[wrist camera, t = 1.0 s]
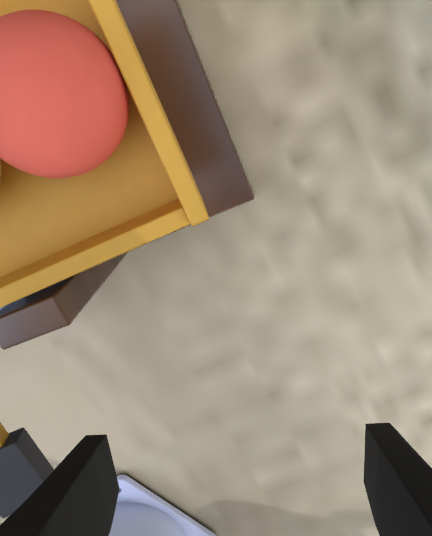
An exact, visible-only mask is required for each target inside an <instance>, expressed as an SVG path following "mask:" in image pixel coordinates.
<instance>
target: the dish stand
mask: <svg viewBox="0 0 432 536" xmlns="http://www.w3.org/2000/svg"><path fill="white" fill-rule="evenodd" d="M116 2H117V4H118V6H119V9H120V11H121V13H122V15H123V18H124V20H125V22H126V25H127V27H128V29H129V31H130V34H131V36H132V38H133V41H134V43H135V45H136V47H137V50H138V52H139V54H140V56H141V59H142V61H143V63H144V66H145V68H146V70H147V72H148V75H149V77H150V79H151V82H152V84H153V86H154V88H155V91H156V93H157V95H158V98H159V100H160V102H161V104H162V107H163V109H164V111H165V114H166V116H167V118H168V120H169V123H170V125H171V127H172V130H173V132H174V134H175V136H176V139H177V141H178V143H179V146H180V148H181V150H182V152H183V155H184V157H185V159H186V162H187V164H188V166H189V168H190V171H191V173H192V175H193V178H194V180H195V182H196V185H197V188H198V190H199V192H200V194H201V197H202V199H203V201H204V204H205V207H206V210H207V213H208V216H209V217H211V216H214V215H216V214H218V213H221V212H223V211H226V210H228V209H231V208H233V207H236V206H238V205H241V204H243V203H245V202H248V201H250V200H253V199H254V194H253V192H252V189H251V187H250V184H249V182H248V179H247V177H246V174H245V172H244V169H243V167H242V164H241V161H240V159H239V156H238V154H237V151H236V149H235V146H234V144H233V141H232V139H231V136H230V134H229V131H228V129H227V126H226V123H225V121H224V118H223V116H222V113H221V111H220V108H219V106H218V103H217V101H216V98H215V96H214V93H213V91H212V88H211V86H210V83H209V80H208V78H207V75H206V73H205V70H204V68H203V65H202V63H201V60H200V58H199V55H198V53H197V50H196V48H195V45H194V43H193V40H192V37H191V35H190V32H189V30H188V27H187V25H186V22H185V20H184V17H183V15H182V12H181V10H180V7H179V5H178V2H177V0H116ZM189 225H190V224H189ZM189 225H187V226H189ZM187 226H185V227H187ZM182 228H184V227H182ZM182 228H180V229H182ZM178 230H179V229H178ZM176 231H177V230H176ZM173 232H174V231H173ZM171 233H172V232H171ZM164 236H165V235H164ZM127 253H128V252H126V253H124V254H121V255H119V256H117V257H114V258H112V259H110V260H108V261H105V262H103V263H101V264H99V265H96V266H94V267H92V268H90V269H87V270H85V271H83V272H80V273H78V274H76V275H74V276H71V277H69V278H67V279H65V280H62V281H60V282H58V283H56V284H53V285H51V286H49V287H47V288H44V289H42V290H40V291H37V292H35V293H33V294H31V295H28V296H26V297H24V298H22V299H19V300H17V301H15V302H13V303H10V304H8V305H7V306H5V307H4V308H3V309H2V310H1V311H0V346H1V348H2V349H7V348H10V347H12V346H15V345H18V344H20V343H23V342H25V341H28V340H31V339H33V338H36V337H39V336H41V335H44V334H46V333H49V332H52V331H54V330H57V329H60V328H62V327H65V326H68V325H70V324H71V322H72V321H73V320H74V319H75V317H76V316H77V315H78V314H79V312H80V311H81V310H82V309H83V307H84V306H85V305H86V304H87V302H88V301H89V300H90V299H91V297H92V296H93V295H94V294H95V293H96V291H97V290H98V289H99V288H100V286H101V285H102V284H103V283H104V281H105V280H106V279H107V278H108V276H109V275H110V274H111V273H112V271H113V270H114V269H115V268H116V266H117V265H118V264H119V263H120V261H121V260H122V259H123V258H124V256H125V255H126V254H127Z"/></svg>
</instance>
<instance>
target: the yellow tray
mask: <svg viewBox="0 0 432 536" xmlns="http://www.w3.org/2000/svg"><path fill="white" fill-rule="evenodd" d="M21 10H45V11H51V12H55V13H58V14H61V15H64V16H67V17H69V18H71V19H73V20H76V21H77V22H79V23H81V24H82V25H84V26H85V27H87V28H88V29H89V30H90V31H92V32H93V33H94V34H95V35H97V36H98V37H99V38H100V39H101V40H102V41H103V42H104V43H105V45H106V46H107V47H108V48H109V50H110V51H111V52H112V54H113V56H114V59H115V61H116V63H117V65H118V67H119V69H120V72H121V74H122V76H123V78H124V80H125V83H126V85H127V90H128V95H129V117H128V123H127V127H126V130H125V133H124V136H123V138H122V140H121V142H120V144H119V145H118V147H117V148H116V150H115V151H114V152H113V154H112V155H111V156H110V157H109V158H108V159H107V160H106V161H104V162H103V163H102V164H101V165H99V166H98V167H96V168H95V169H93V170H91V171H89V172H87V173H84V174H81V175H78V176H74V177H68V178H47V177H40V176H36V175H32V174H30V173H27V172H24V171H22V170H19V169H17V168H15V167H13V166H11V165H10V164H8V163H7V162H5V161H4V160H2V159H1V158H0V162H1V180H0V308H1V307H3V306H6V305H8V304H10V303H13V302H15V301H17V300H19V299H22V298H24V297H26V296H28V295H31V294H33V293H35V292H37V291H40V290H42V289H44V288H47V287H49V286H51V285H53V284H56V283H58V282H60V281H62V280H65V279H67V278H69V277H71V276H74V275H76V274H78V273H80V272H83V271H85V270H87V269H90V268H92V267H94V266H96V265H99V264H101V263H103V262H105V261H108V260H110V259H112V258H114V257H117V256H119V255H121V254H124V253H126V252H128V251H130V250H133V249H135V248H137V247H139V246H142V245H144V244H146V243H148V242H151V241H153V240H155V239H158V238H160V237H162V236H164V235H167V234H169V233H171V232H173V231H176V230H178V229H180V228H182V227H185V226H187V225H189V224H190V225H192V226H194V225H197V224H199V223H201V222H204V221H206V220H208V219H209V216H208V213H207V210H206V207H205V204H204V201H203V199H202V197H201V194H200V192H199V190H198V188H197V185H196V182H195V180H194V178H193V175H192V173H191V171H190V168H189V166H188V164H187V162H186V159H185V157H184V155H183V152H182V150H181V148H180V146H179V143H178V141H177V139H176V136H175V134H174V132H173V130H172V127H171V125H170V123H169V120H168V118H167V116H166V114H165V111H164V109H163V107H162V104H161V102H160V100H159V98H158V95H157V93H156V91H155V88H154V86H153V84H152V82H151V79H150V77H149V75H148V72H147V70H146V68H145V66H144V63H143V61H142V59H141V56H140V54H139V52H138V50H137V47H136V45H135V43H134V41H133V38H132V36H131V34H130V31H129V29H128V27H127V25H126V22H125V20H124V18H123V15H122V13H121V11H120V9H119V6H118V4H117V2H116V0H0V17H1V16H3V15H5V14H9V13H12V12H16V11H21ZM53 471H54V469H53V467H52V466H51V465H50V463H49V462H48V460H47V459H46V458H45V456H44V455H43V454H42V452H41V451H40V449H39V448H38V447H37V445H36V444H35V442H34V441H33V440H32V438H31V437H30V435H29V434H28V433H27V431H26V430H25V428H21V429H18V430H16V431H13V432H11V433H9V434H8V432H7V431H6V429H5V428H4V427H3V425H2V424H1V423H0V516H1V517H2V518H5V517H8V516H10V515H11V514H12V513H13V512H14V511H15V510H16V509H17V508H18V507H19V506H20V505H21V504H22V503H23V502H24V501H25V500H26V499H27V498H28V497H29V496H30V495H31V494H32V493H33V492H34V491H35V490H36V489H37V488H38V487H39V486H40V485H41V484H42V483H43V481H44V480H45V479H46V478H47V477H48V476H49V475H50V474H51V473H52V472H53Z"/></svg>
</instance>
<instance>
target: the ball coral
mask: <svg viewBox="0 0 432 536" xmlns="http://www.w3.org/2000/svg"><path fill="white" fill-rule="evenodd" d="M128 117H129V95H128V90H127V85H126V83H125V80H124V78H123V76H122V74H121V72H120V69H119V67H118V65H117V63H116V61H115V59H114V56H113V54H112V52H111V51H110V50H109V48H108V47H107V46H106V45H105V43H104V42H103V41H102V40H101V39H100V38H99V37H98V36H97V35H95V34H94V33H93V32H92V31H90V30H89V29H88V28H87V27H85V26H84V25H82V24H81V23H79V22H77V21H76V20H73V19H71V18H69V17H67V16H64V15H61V14H58V13H55V12H51V11H45V10H21V11H16V12H12V13H9V14H5V15H3V16H1V17H0V158H1V159H2V160H4V161H5V162H7V163H8V164H10V165H11V166H13V167H15V168H17V169H19V170H22V171H24V172H27V173H30V174H32V175H36V176H40V177H47V178H68V177H74V176H78V175H81V174H84V173H87V172H89V171H91V170H93V169H95V168H96V167H98V166H99V165H101V164H102V163H103V162H104V161H106V160H107V159H108V158H109V157H110V156H111V155H112V154H113V152H114V151H115V150H116V148H117V147H118V145H119V144H120V142H121V140H122V138H123V136H124V133H125V130H126V127H127V123H128Z"/></svg>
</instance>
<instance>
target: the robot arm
mask: <svg viewBox="0 0 432 536" xmlns="http://www.w3.org/2000/svg"><path fill="white" fill-rule="evenodd" d="M364 484H365V488H366V492H367V495H368V499H369V503H370V507H371V510H372V514H373V518H374V521H375V524H376V527H377V530H378V532H379V535H380V536H432V468H431V467H430V466H429V465H428V464H427V463H426V462H425V461H424V460H423V459H422V457H421V456H420V455H419V454H418V453H417V452H416V451H415V450H414V449H413V448H412V447H411V446H410V445H409V443H408V442H407V441H406V440H405V439H404V438H403V437H402V436H401V435H400V434H399V432H398V431H397V430H396V429H395V428H394V427H393V426H392V425H391V424H390V423H375V424H366V432H365V462H364ZM0 536H216V535H215V534H214V533H213V532H211V531H210V530H208V529H207V528H205V527H204V526H202V525H201V524H199V523H198V522H196V521H195V520H193V519H192V518H190V517H189V516H187V515H186V514H184V513H183V512H181V511H180V510H178V509H177V508H175V507H174V506H172V505H170V504H169V503H167V502H166V501H164V500H163V499H161V498H160V497H158V496H157V495H155V494H154V493H152V492H151V491H149V490H148V489H146V488H145V487H143V486H142V485H140V484H139V483H137V482H136V481H134V480H133V479H131V478H130V477H128V476H126V475H119V476H116V472H115V468H114V464H113V460H112V456H111V451H110V447H109V443H108V439H107V435H86V436H85V437H84V438H83V439H82V440H81V441H80V442H79V443H78V444H77V446H76V447H75V448H74V449H73V450H72V451H71V452H70V453H69V454H68V455H67V456H66V458H65V459H64V460H63V461H62V462H61V463H60V464H59V465H58V466H57V467H56V468H55V470H54V471H53V472H52V473H51V474H50V475H49V476H48V477H47V478H46V479H45V480H44V481H43V483H42V484H41V485H40V486H39V487H38V488H37V489H36V490H35V491H34V492H33V493H32V494H31V495H30V496H29V497H28V498H27V499H26V500H25V501H24V502H23V503H22V504H21V505H20V506H19V507H18V508H17V509H16V510H15V511H14V512H13V513H12V514H11V515H10V516H9V517H8V518H7V519H6V520H5V521H4V522H3V523H2V524H1V525H0Z"/></svg>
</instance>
